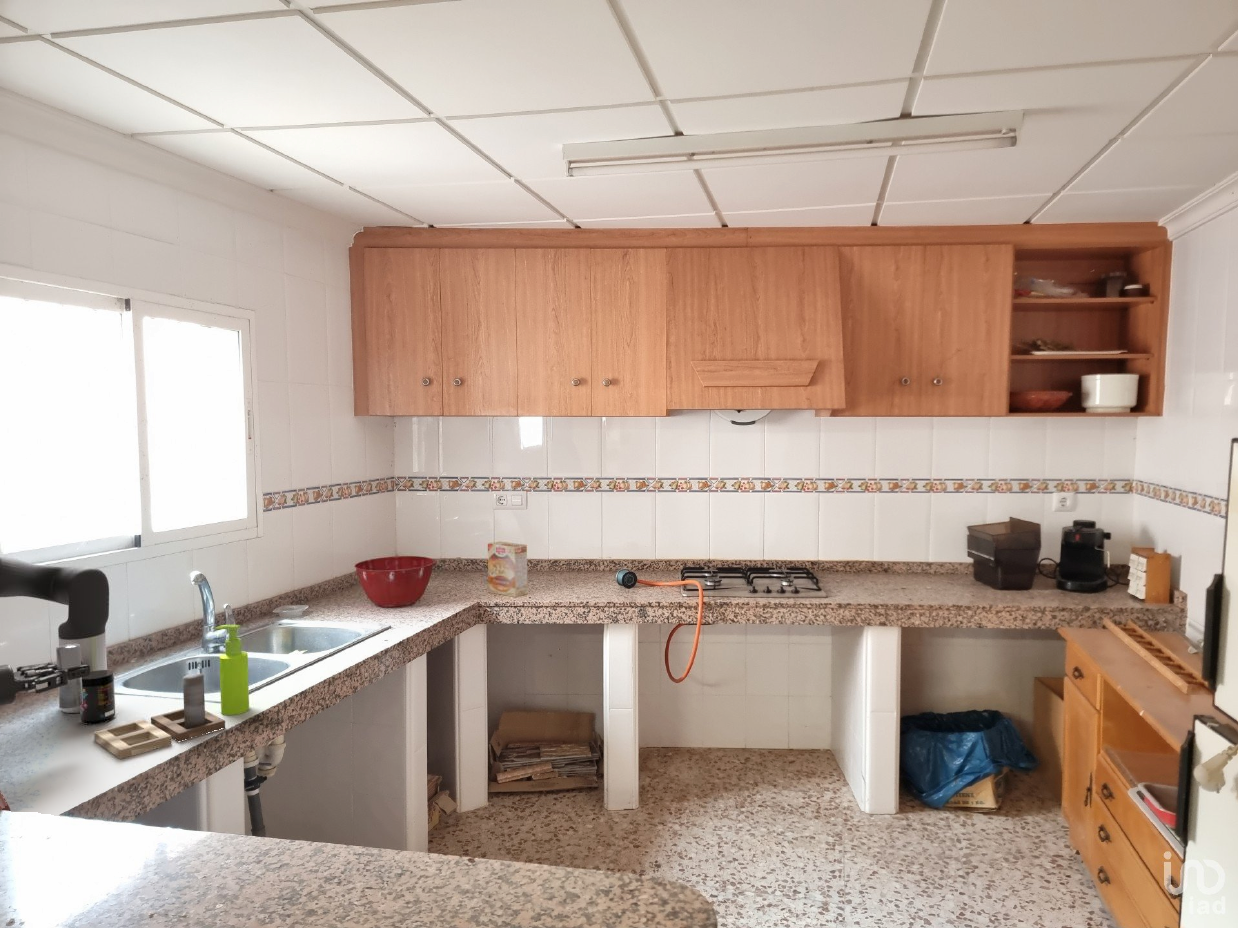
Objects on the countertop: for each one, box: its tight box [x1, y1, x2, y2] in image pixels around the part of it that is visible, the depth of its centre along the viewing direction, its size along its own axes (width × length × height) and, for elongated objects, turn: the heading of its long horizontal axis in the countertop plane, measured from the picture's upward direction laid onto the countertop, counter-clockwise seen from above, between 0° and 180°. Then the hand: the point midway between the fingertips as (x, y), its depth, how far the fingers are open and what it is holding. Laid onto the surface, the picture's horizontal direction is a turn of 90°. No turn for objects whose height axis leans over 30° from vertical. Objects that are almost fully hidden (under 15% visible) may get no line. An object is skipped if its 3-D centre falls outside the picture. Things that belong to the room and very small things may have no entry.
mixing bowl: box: [353, 555, 436, 609], centre depth 297 cm, size 28×28×16 cm
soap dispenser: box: [213, 624, 250, 716], centre depth 187 cm, size 6×7×20 cm
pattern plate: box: [150, 673, 226, 742], centre depth 177 cm, size 15×10×12 cm, turn 50°
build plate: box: [93, 718, 172, 760], centre depth 169 cm, size 15×10×2 cm, turn 50°
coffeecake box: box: [487, 541, 528, 598], centre depth 314 cm, size 15×7×20 cm, turn 53°
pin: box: [55, 644, 83, 710], centre depth 163 cm, size 4×4×12 cm
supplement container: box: [79, 669, 116, 725], centre depth 182 cm, size 7×7×10 cm
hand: (85, 667), depth 165 cm, fingers closed on pin, 4 cm apart
